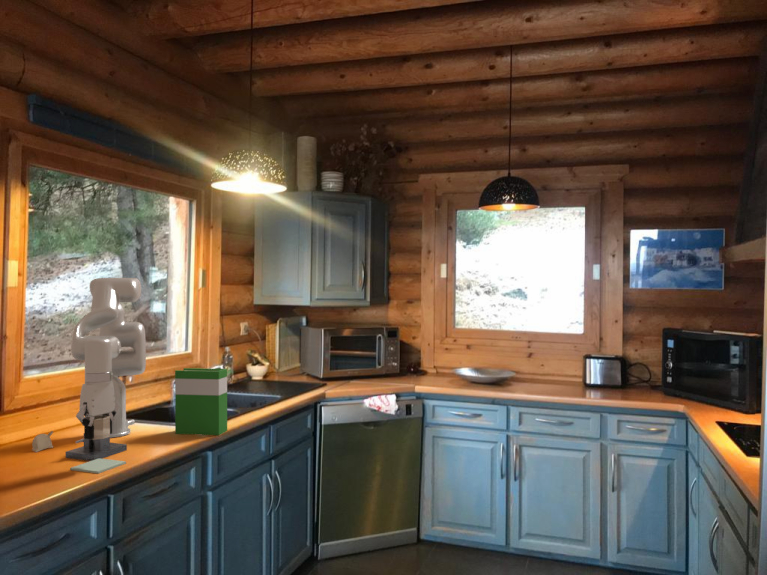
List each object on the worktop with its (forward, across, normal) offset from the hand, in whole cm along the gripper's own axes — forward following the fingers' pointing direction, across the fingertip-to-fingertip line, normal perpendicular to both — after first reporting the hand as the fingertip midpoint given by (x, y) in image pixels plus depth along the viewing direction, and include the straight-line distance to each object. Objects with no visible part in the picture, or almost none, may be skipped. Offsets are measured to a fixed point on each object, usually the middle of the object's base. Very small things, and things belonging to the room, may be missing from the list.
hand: (98, 435), depth 184 cm
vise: (+10, -11, -12) cm, 19 cm away
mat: (+10, 0, 0) cm, 10 cm away
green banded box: (+10, -48, +2) cm, 49 cm away
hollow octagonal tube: (0, 0, 0) cm, 0 cm away
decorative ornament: (+10, -10, -35) cm, 38 cm away
